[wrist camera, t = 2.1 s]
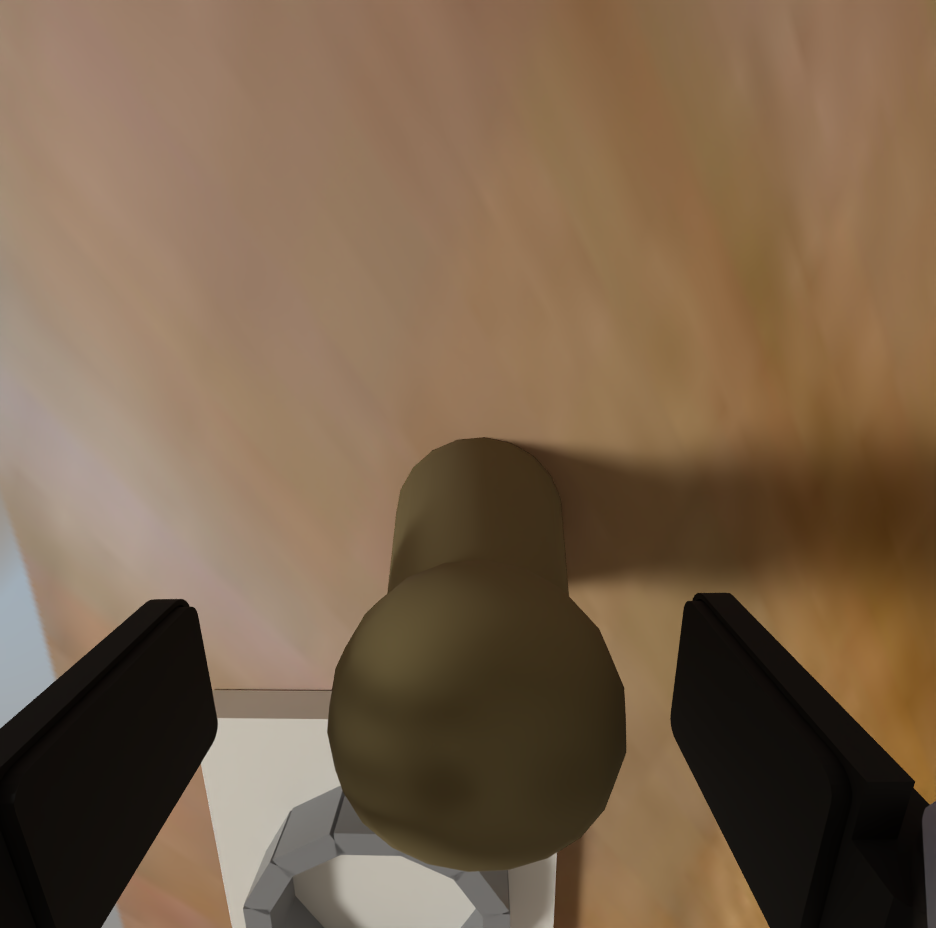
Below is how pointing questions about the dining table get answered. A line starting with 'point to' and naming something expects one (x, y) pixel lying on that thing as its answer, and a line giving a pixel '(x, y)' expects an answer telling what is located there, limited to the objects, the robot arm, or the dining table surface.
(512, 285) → the dining table surface
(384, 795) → the cork
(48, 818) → the robot arm
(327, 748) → the board
